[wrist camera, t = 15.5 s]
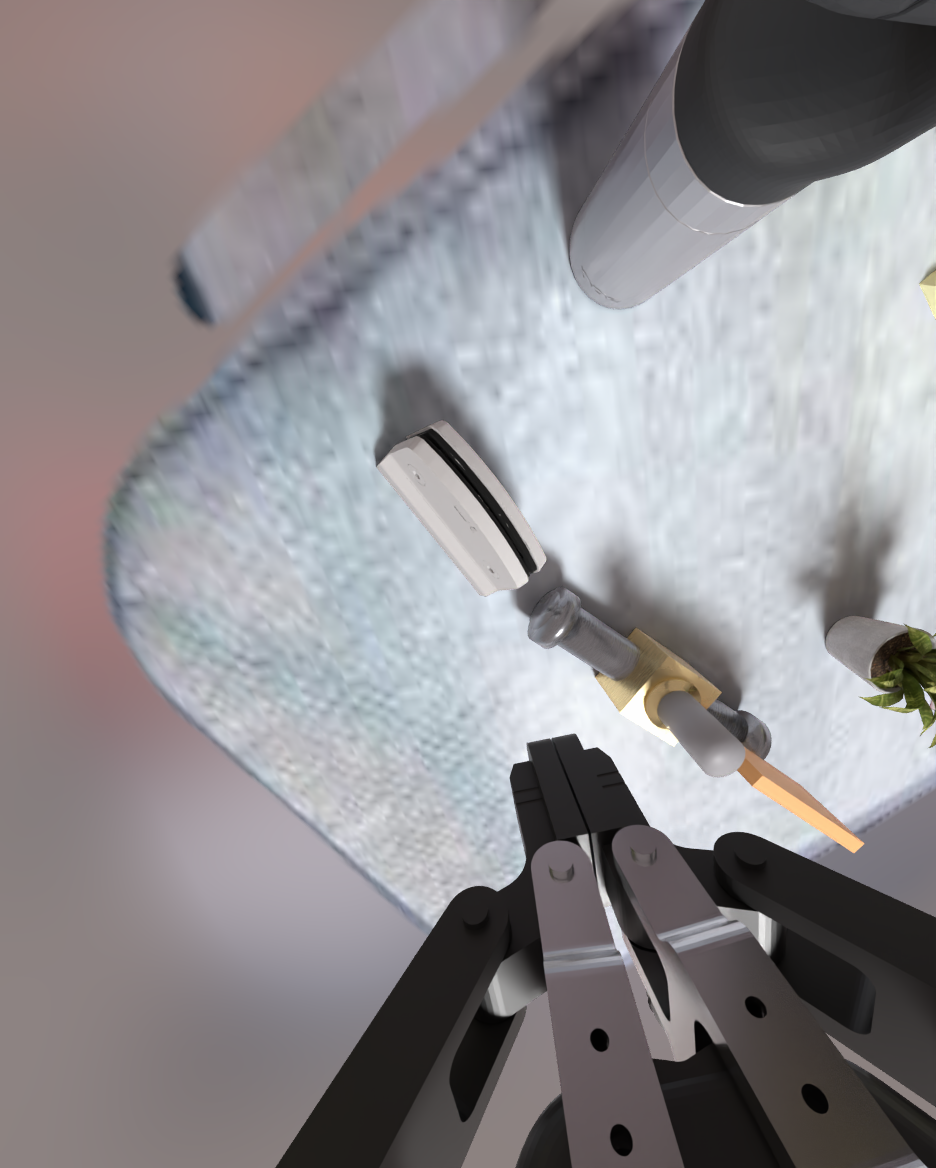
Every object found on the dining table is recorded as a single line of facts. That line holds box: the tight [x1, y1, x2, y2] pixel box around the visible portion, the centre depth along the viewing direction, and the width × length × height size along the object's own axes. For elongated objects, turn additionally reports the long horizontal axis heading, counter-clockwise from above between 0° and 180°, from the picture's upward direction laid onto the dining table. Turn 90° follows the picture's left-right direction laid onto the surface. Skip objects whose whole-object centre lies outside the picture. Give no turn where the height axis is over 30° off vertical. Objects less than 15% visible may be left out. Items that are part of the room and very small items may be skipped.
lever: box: [657, 691, 864, 853], centre depth 40 cm, size 19×4×7 cm, turn 55°
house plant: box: [825, 616, 936, 748], centre depth 42 cm, size 14×14×16 cm
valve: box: [528, 587, 771, 760], centre depth 46 cm, size 7×28×8 cm, turn 56°
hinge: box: [377, 420, 546, 597], centre depth 39 cm, size 17×5×10 cm, turn 38°
